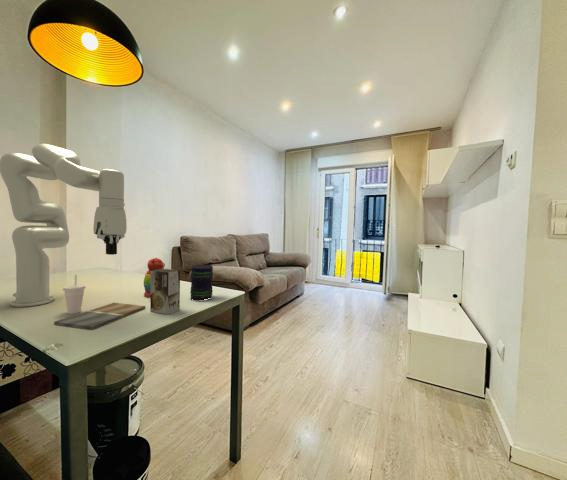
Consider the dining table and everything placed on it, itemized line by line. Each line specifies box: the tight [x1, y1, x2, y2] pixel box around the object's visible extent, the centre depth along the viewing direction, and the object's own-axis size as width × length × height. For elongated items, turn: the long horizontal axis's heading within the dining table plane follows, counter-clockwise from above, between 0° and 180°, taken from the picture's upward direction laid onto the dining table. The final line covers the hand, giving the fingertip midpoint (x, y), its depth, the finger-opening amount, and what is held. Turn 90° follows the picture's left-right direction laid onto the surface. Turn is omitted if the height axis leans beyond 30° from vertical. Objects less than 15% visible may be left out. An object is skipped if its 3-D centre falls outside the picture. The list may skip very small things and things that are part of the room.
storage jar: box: [189, 264, 214, 300], centre depth 115 cm, size 10×10×15 cm
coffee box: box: [149, 268, 181, 315], centre depth 96 cm, size 9×6×16 cm
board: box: [53, 302, 146, 330], centre depth 89 cm, size 15×22×1 cm
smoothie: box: [62, 274, 86, 315], centre depth 92 cm, size 6×6×14 cm
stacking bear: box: [143, 257, 166, 299], centre depth 118 cm, size 11×10×18 cm
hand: (111, 254), depth 91 cm, fingers closed
